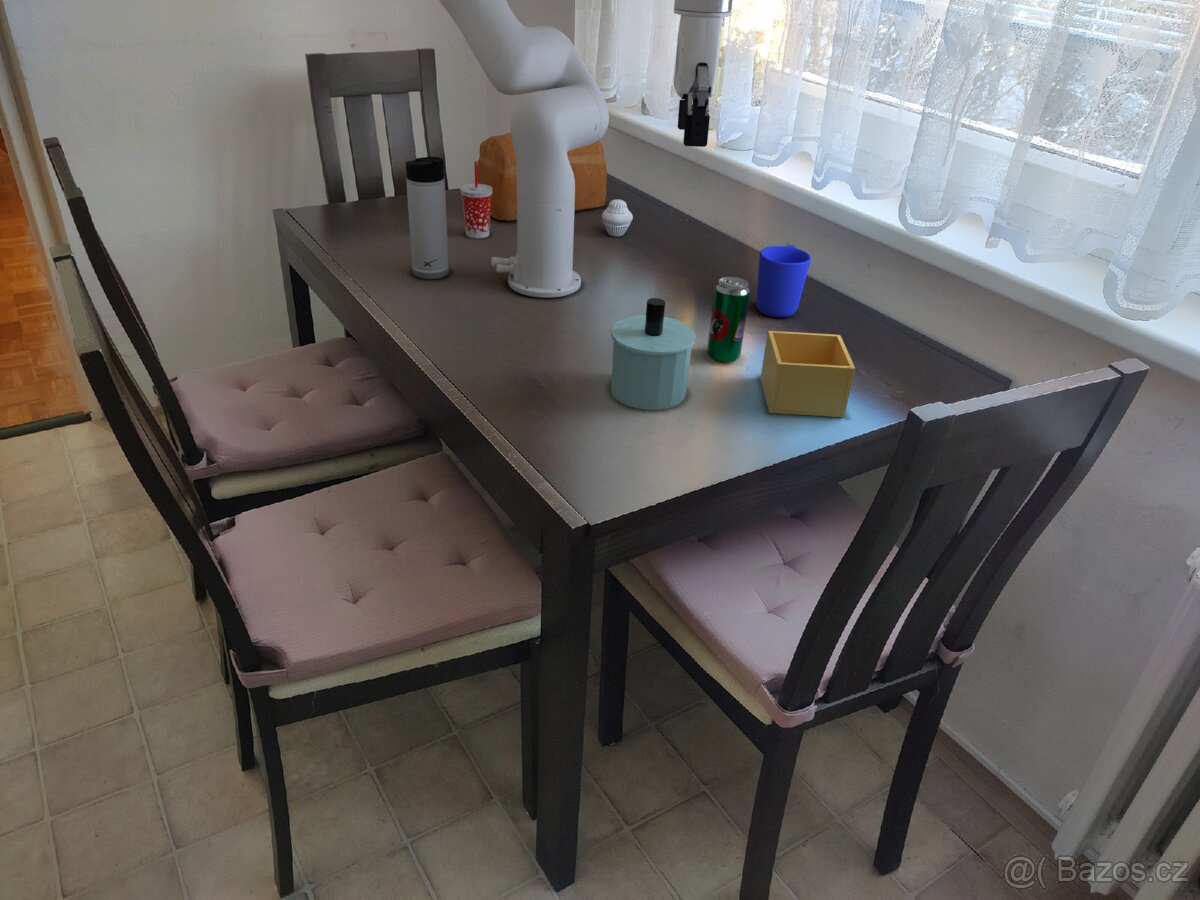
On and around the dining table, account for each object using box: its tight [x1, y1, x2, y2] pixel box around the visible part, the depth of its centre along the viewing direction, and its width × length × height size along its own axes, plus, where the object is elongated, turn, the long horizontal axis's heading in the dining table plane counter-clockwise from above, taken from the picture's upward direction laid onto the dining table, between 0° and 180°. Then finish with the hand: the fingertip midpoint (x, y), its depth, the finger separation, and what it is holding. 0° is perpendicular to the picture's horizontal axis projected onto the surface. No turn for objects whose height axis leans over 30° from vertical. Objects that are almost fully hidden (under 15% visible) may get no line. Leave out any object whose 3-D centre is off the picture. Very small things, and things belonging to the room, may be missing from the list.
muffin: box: [601, 198, 634, 237], centre depth 176 cm, size 6×6×7 cm
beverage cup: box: [459, 160, 493, 239], centre depth 170 cm, size 6×6×14 cm
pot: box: [610, 340, 692, 411], centre depth 122 cm, size 10×10×8 cm
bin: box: [759, 330, 856, 418], centre depth 123 cm, size 10×10×8 cm
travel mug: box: [405, 156, 450, 280], centre depth 151 cm, size 6×7×20 cm
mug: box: [755, 244, 812, 319], centre depth 149 cm, size 8×12×10 cm
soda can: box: [706, 276, 751, 364], centre depth 131 cm, size 5×5×12 cm
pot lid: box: [610, 297, 697, 355], centre depth 119 cm, size 11×11×6 cm
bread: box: [477, 132, 608, 222], centre depth 186 cm, size 14×26×16 cm, turn 122°
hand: (691, 137), depth 125 cm, fingers open, 9 cm apart
